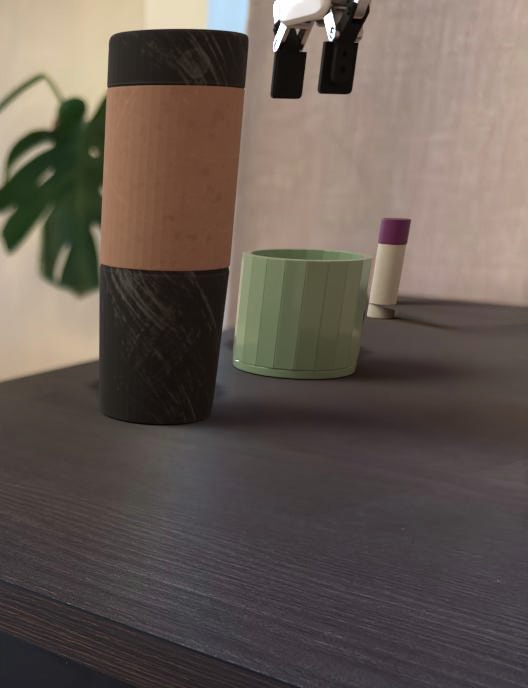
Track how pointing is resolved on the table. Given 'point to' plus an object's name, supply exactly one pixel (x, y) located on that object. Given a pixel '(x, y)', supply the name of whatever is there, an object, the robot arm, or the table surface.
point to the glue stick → (388, 266)
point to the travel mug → (167, 219)
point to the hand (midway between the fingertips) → (308, 96)
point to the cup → (301, 312)
